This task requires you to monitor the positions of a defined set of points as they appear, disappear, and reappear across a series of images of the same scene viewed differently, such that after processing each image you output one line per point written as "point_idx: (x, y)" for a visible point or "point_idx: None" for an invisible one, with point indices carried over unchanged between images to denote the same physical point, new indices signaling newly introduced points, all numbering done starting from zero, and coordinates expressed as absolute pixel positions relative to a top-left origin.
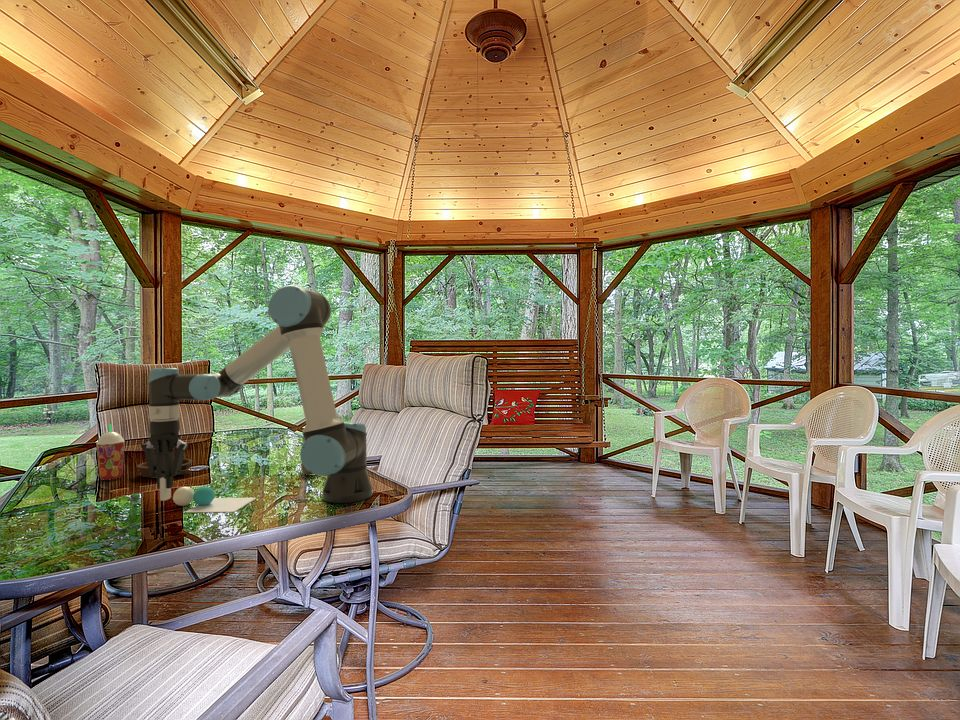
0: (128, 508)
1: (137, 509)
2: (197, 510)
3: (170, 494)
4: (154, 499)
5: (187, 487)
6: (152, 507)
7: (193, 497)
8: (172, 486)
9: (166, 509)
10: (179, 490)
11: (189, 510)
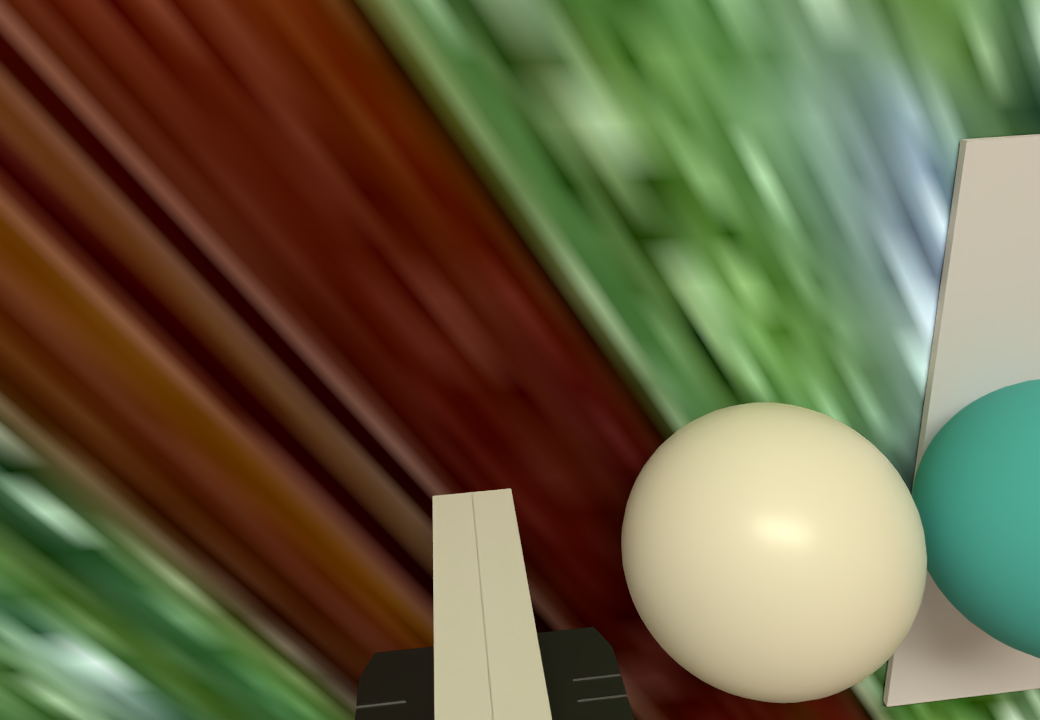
0: (56, 638)
1: (222, 659)
2: (1000, 653)
3: (515, 524)
4: (11, 218)
5: (888, 628)
6: (351, 577)
7: (947, 598)
8: (601, 646)
9: (596, 626)
10: (791, 700)
11: (913, 664)
